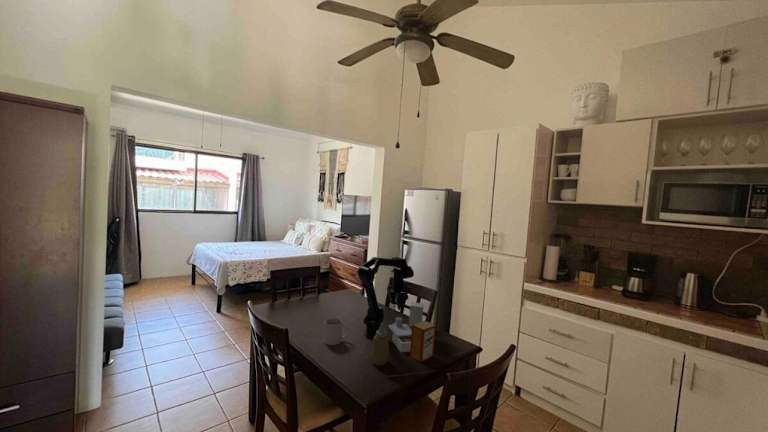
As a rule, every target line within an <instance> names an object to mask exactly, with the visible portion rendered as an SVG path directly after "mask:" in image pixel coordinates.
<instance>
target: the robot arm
mask: <svg viewBox="0 0 768 432" xmlns="http://www.w3.org/2000/svg"><path fill="white" fill-rule="evenodd" d="M382 266H385V267H394V268H393V269H391V272H390V273H393V276H392V277H393V278H392V280H391V283H392V284H389V285H387V287H386V290H387V293H388V297H389V298H390V302H391V304H392V305H395V303H396V308H397V310H398V311H401V309H402V306H403V303H404V302H406V301H407V300H409V295H408V294H407V293H409V294H412V290H413V287H412V286H410V285H409V283H408V282H404V280H406V279H411V278H413V277H414V275H415V273H414V270H413V268H412V266H410V265H408V263H407V259H405V258H401V257H398V256H395V257H391V258H387V257H386V258H385V257H376V256H373V257H372V258H370V259H369V260H367V261H366V262H364V263H363V264H362V265H360V267H359V268H358V269H357V275H358V277H359V279H360V281H361V282H362V284H363V287H364V292H365V297H366V301H367V305H368V309H367V311H366V312H367V314H366V316H365V317H364V319H363V324H364V325H365V333H364V336H365V338H366V339H367V340H370V339H372V340H373V339H374V336H375V335H376V331H377V330H379V328H380V325H381V323H383V322H384V317H385V316H384V315H385V313H384V308H383V307H382V306H379V304H378V299H377V294H376V290H375V286H374V284H375V283H374V281H375V278H376V277H375V276H376V274H377V273H378V271H379V268H380V267H382ZM406 292H407V293H406Z"/></svg>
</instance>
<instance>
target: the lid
mask: <svg viewBox="0 0 768 432" xmlns="http://www.w3.org/2000/svg"><path fill="white" fill-rule="evenodd" d="M403 320H404V319H403V317H401V316H400V317H396V316H395V320H394V321H395V322H393V323H392V324H389V325H388V326H387V328H389V329H390V330H391V332H392V334H393V333H394V334H395V335H396V337H401V336H411V335H412V327H411V326H409V324H407V323H404V322H403Z"/></svg>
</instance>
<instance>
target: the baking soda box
mask: <svg viewBox="0 0 768 432" xmlns="http://www.w3.org/2000/svg"><path fill="white" fill-rule="evenodd" d="M436 327H437V325H436V324H434V323H433V322H429V321H427V320H422V322H419V323H416V324H414V325H412V327H411V329H412V335H411V348H410V351H409V357H410V358H412V359H414V360H416V361H418V362H419V363H422V362H425V361H427V360H428V359H430V358H432V357H434V351H435V349H434V348H435V340H436V339H435V338H436Z"/></svg>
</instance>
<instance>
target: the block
mask: <svg viewBox="0 0 768 432" xmlns="http://www.w3.org/2000/svg"><path fill="white" fill-rule="evenodd" d="M401 341H402V342H411V337H409V336H403V337H401Z"/></svg>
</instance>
